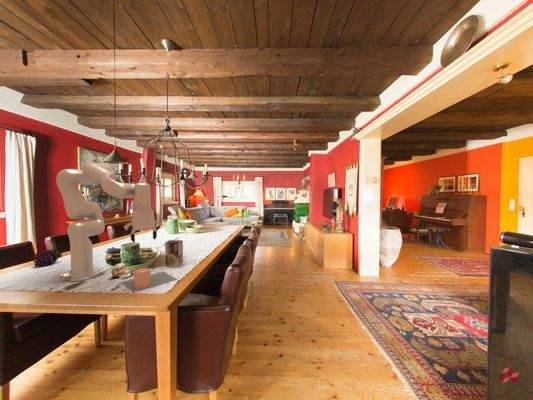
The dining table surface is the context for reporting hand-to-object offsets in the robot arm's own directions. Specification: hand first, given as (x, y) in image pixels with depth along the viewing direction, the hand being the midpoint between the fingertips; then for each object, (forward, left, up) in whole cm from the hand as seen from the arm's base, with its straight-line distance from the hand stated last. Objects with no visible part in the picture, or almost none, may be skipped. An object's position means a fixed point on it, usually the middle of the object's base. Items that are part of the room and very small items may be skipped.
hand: (144, 240), depth 117 cm
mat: (+3, 0, -23) cm, 23 cm away
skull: (-6, +19, -23) cm, 31 cm away
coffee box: (+24, +16, -23) cm, 37 cm away
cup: (-2, -4, -22) cm, 23 cm away
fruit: (-32, +77, -23) cm, 87 cm away
